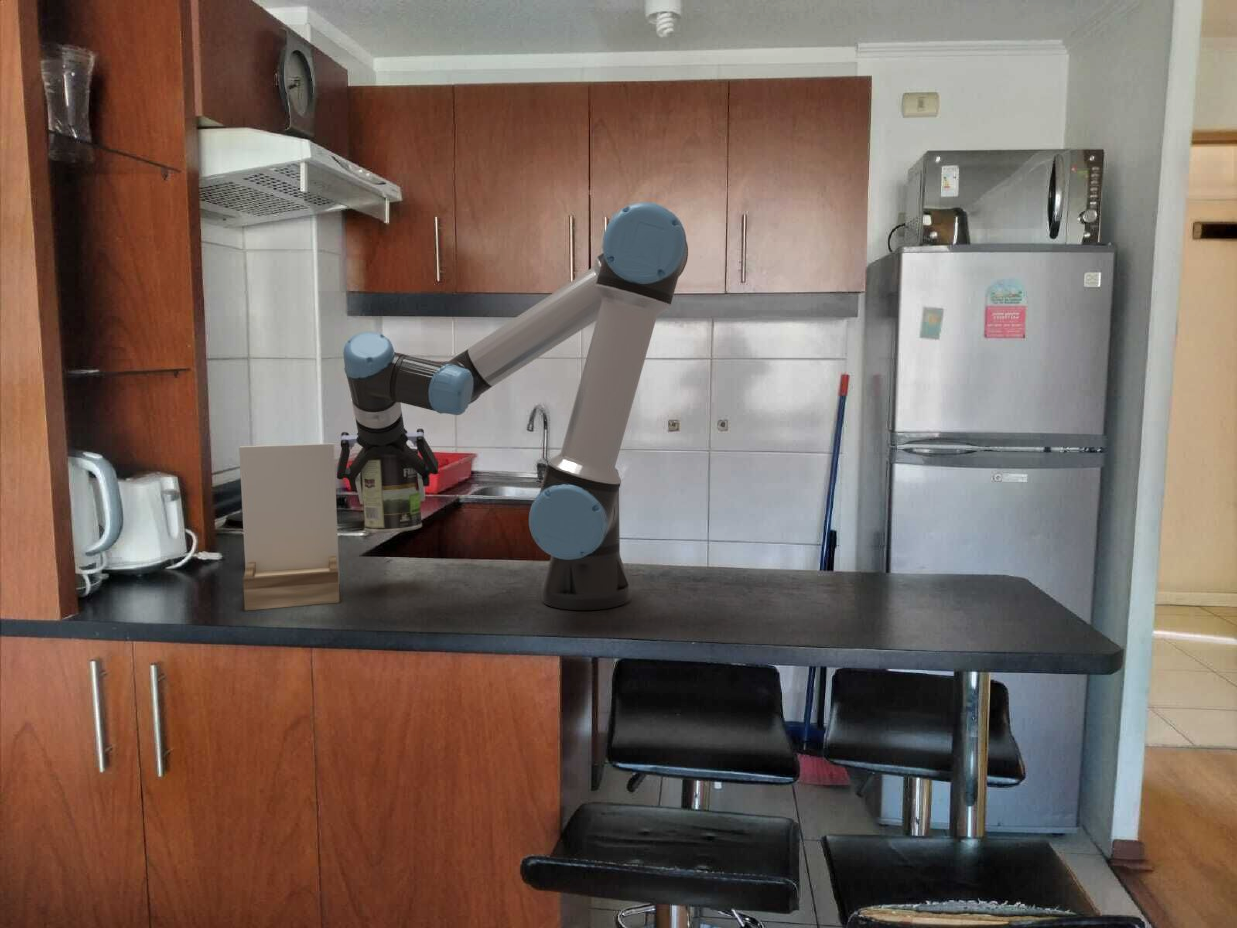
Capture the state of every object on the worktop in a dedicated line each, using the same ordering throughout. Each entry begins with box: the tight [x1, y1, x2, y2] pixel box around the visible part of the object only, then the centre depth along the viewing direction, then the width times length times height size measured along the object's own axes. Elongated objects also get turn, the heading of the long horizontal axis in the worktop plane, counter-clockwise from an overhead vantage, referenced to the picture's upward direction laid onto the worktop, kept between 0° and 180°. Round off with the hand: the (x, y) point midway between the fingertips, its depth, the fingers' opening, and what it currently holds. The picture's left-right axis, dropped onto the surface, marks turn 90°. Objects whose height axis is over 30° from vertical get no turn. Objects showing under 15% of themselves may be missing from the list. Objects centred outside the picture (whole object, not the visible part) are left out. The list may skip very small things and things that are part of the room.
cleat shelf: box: [242, 556, 340, 611], centre depth 162 cm, size 14×15×5 cm
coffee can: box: [361, 448, 423, 534], centre depth 167 cm, size 10×10×14 cm
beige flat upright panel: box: [238, 442, 340, 585], centre depth 169 cm, size 2×16×26 cm, turn 109°
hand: (392, 496), depth 170 cm, fingers closed on coffee can, 10 cm apart
